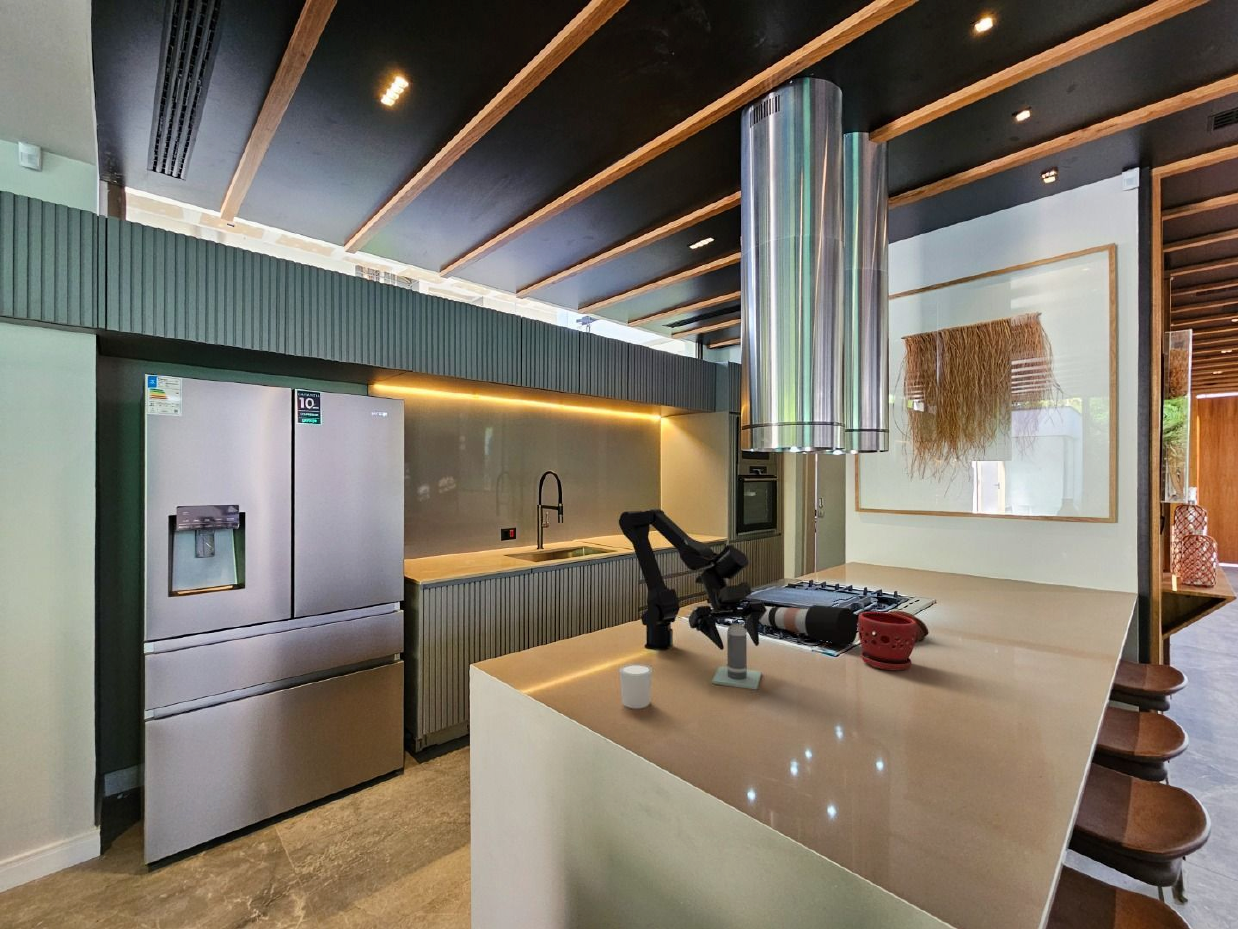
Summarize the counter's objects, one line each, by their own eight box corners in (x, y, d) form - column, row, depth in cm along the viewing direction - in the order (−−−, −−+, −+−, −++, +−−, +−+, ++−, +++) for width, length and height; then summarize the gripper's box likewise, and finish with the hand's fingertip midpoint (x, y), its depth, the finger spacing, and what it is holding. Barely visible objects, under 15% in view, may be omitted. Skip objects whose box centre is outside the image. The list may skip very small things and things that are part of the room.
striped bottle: (759, 634, 178) (766, 604, 181) (854, 650, 150) (859, 615, 154) (739, 624, 173) (746, 594, 177) (833, 639, 146) (840, 602, 149)
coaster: (712, 683, 124) (712, 680, 124) (719, 668, 134) (719, 666, 134) (756, 689, 121) (756, 686, 121) (761, 674, 130) (761, 671, 130)
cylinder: (725, 678, 126) (725, 625, 126) (728, 671, 130) (728, 620, 130) (745, 680, 124) (745, 627, 124) (748, 673, 129) (747, 622, 129)
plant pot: (903, 678, 128) (903, 627, 128) (849, 663, 138) (848, 616, 138) (924, 665, 136) (924, 617, 137) (872, 652, 146) (871, 607, 146)
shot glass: (656, 698, 116) (655, 665, 116) (647, 711, 109) (647, 676, 110) (625, 694, 118) (625, 662, 118) (615, 707, 112) (615, 672, 112)
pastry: (860, 630, 168) (860, 604, 168) (906, 629, 169) (906, 603, 170) (894, 648, 151) (894, 619, 151) (945, 646, 153) (945, 617, 153)
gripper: (693, 572, 128) (715, 632, 118) (762, 568, 134) (789, 625, 124) (679, 599, 136) (699, 657, 125) (745, 594, 142) (769, 649, 131)
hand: (740, 647), depth 126 cm, fingers open, 9 cm apart
